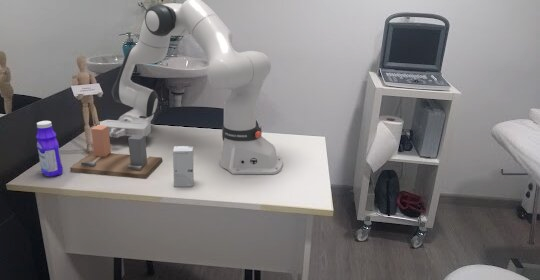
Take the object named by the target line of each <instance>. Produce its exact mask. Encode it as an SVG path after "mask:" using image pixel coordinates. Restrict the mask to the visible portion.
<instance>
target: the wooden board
mask: <svg viewBox="0 0 540 280" xmlns="http://www.w3.org/2000/svg"><path fill="white" fill-rule="evenodd" d="M162 162H163V157H160V156H159V157H158V156H150V155H147V163H146V164H145V165H144V166H143V167H142V166H137V165H131V163H130V154H125V153H115V152H113V153H112V152H111V153H110V154H108V155H107V156H106V157H103V156H95V155H94V151H91V152H90V153H89V154H87V155H86V156H85V157H82V158H81V159H80V160H79V161H77V162H76V163H74V164H73V165H72V166H70V168H69V170H70V172H71V173H79V174H80V173H81V174H92V175H102V176H113V177H125V178H135V179H148V178H149V177H150V175H151V174H152V173H153V172H155V170H156V169H157V167H159V166H160V164H162Z"/></svg>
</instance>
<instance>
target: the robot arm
mask: <svg viewBox="0 0 540 280" xmlns="http://www.w3.org/2000/svg"><path fill="white" fill-rule="evenodd" d="M185 35H190V36H191V37H192V39H194V41H195V42H196V43H197V44H198V46H199V47H200V48H201V50H202V51H203V52H204V54H205V56H206V59H207V61H208V66H207V68H206V75H207V80H208V81H209V84H210V85H211V86H212V87H213V88H215V89H217V90H222V91H223V90H226V91H228V90H230V94H229V95H228V97H227V98H226V99H225V101H224V103H223V125H222V128H221V138H222V141H223V142H222V150H221V154H220V155H221V156H220V159H219V161H218V162H219V163H218V164H219V166H220V167H221V168H223V169H225V170H228V171H229V173H231V175H232V174H233V175H276V174H278V173H280V171H282V169H283V165H284V164H283V158H282V157H280V156H279V155H277V150H276V147H275V145H274V144H272V143H271V142H270V141H269V140H267V139H266V138H264V137H263V136H262V134H263V133H262V126H261V125H260V127H259V125H257V108H258V107H257V105H258V101H259V98H260V93H261V90H262V87H263V84H264V82H265V80H266V78H267V77H268V76H269V74H270V72H271V68H272V67H271V61H270V59H269V57H268V56H267V54H265V53H264V52H261V51H256V50H247V51H240V52H238V51H236V50H235V48H234V47H233V45H232V41H233V34H232V32H231V30H230V29H229V28H228V27H227V25H226V24H225V23H224V21H223V20H222V19H221V18H220V16H218V14H217V13H216V12H215V11H214V10H213V9H212V8H211V7H210V6H209V5H207V3H205V2H204V1H203V0H185V1H184V2H183V3H175V2H172V3H171V2H170V3H169V2H168V3H163V4H161V3H157V4H153V5H151V6H149V7H148V8H147V10H146V11H145V15H144V20H143V22H142V25H141V29H140V33H139V37H138V41H137V43H136V44H135V45H131V46H130V48H128V50H127V52H126V54H125V56H124V58H123V61H122V65H121V66H120V70H119V73H118V75H117V78H116V80H115V82H114V84H113V86H112V89H111V96H112V98H113V100H114V101H115V102H116V103H119V104H122V105H126V106H128V107H131V108H132V109H130V110H129V111H127V112H125V113H123V114H122V115H121V116H119V118H118V119H117V120H114V119H105V120H102V121H99V122H100V125H101V126H108V130H109V138H119V137H123V136H124V137H125V136H128V137H131V136H132V135H133V134H136V135H145V138H146V137H147V136H148V135H150V134H151V132H152V123H151V121H152V120H153V118H154V116H155V113H156V112H157V109H158V106H159V103H160V100H159V97H158V93H157V92H156V90H154V89H152V88H149V87H146V86H143V85H141V84H138V83H135V82H133V80H131V78H132V75H133V72H134V69H135V66H136V65H139V64H140V65H142V64H143V65H144V64H145V65H153V64H157V63H160V62H162V61H163V60H164V59H165V58H166V57H167V55H168V52H169V47H170V41H171V37H175V36H176V37H178V36H179V37H180V36H185Z"/></svg>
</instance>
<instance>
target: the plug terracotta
mask: <svg viewBox="0 0 540 280" xmlns="http://www.w3.org/2000/svg"><path fill="white" fill-rule="evenodd" d="M90 129H91V130H90V131H91V138H92V144H93V145H92V147H93V152H94V155H95V156H103V157H106V156H107V155H108V154H110V153H112V148H111V140H110V134H109V130H108V126H101V125H97V126H93V127H91V128H90Z"/></svg>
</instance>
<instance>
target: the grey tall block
mask: <svg viewBox="0 0 540 280" xmlns="http://www.w3.org/2000/svg"><path fill="white" fill-rule="evenodd" d="M127 140H128V150H129V151H128V154H129V155H130V163H131V165H137V166H142V167H143V166H144V165H145V164H146V163H147V156H148V155H147V144H146V143H147V142H146V137H145V135H136V134H133V135H132V136H128V138H127Z"/></svg>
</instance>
